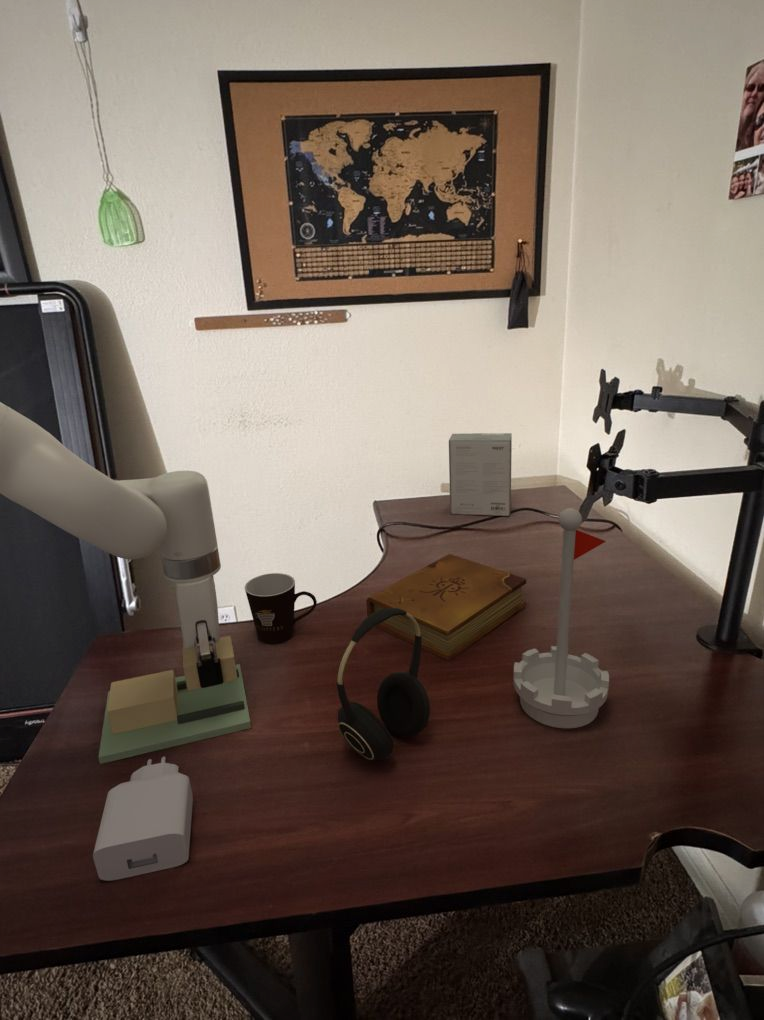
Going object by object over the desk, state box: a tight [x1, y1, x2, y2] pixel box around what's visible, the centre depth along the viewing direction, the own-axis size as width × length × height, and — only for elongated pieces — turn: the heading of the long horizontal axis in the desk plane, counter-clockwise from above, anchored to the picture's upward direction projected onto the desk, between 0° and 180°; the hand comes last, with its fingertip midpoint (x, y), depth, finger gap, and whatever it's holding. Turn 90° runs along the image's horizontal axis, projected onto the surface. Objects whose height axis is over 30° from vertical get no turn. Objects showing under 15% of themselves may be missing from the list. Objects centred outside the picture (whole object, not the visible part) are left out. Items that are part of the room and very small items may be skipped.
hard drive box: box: [448, 432, 513, 517], centre depth 161 cm, size 16×8×20 cm, turn 77°
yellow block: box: [182, 635, 238, 691], centre depth 92 cm, size 7×6×4 cm
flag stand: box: [512, 507, 610, 729], centre depth 86 cm, size 13×13×30 cm
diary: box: [365, 553, 527, 662], centre depth 115 cm, size 23×19×6 cm
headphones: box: [336, 608, 431, 761], centre depth 81 cm, size 9×15×20 cm, turn 135°
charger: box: [92, 756, 194, 882], centre depth 74 cm, size 5×9×15 cm
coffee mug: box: [244, 572, 318, 645], centre depth 109 cm, size 12×9×10 cm
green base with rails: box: [98, 663, 252, 765], centre depth 92 cm, size 20×15×5 cm
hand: (210, 670), depth 92 cm, fingers closed on yellow block, 6 cm apart
